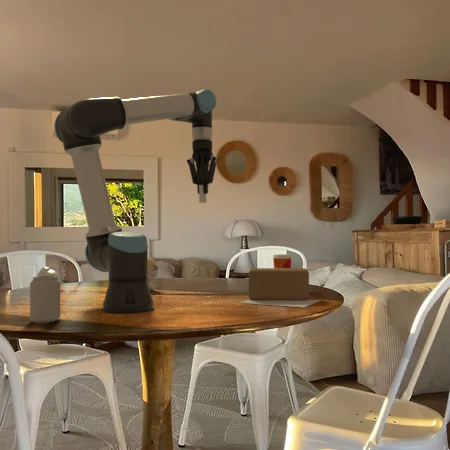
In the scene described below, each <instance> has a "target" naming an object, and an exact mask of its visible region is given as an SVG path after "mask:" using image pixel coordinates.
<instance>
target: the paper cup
mask: <svg viewBox="0 0 450 450" xmlns="http://www.w3.org/2000/svg"><path fill="white" fill-rule="evenodd" d="M272 256H273V257H272V259H273V260H272V261H273V268H291V267H292V258H293V257H292V254H289V253H288V254H287V253H286V254H284V253H283V254H282V253H281V254H278V253H277V254H273V255H272Z"/></svg>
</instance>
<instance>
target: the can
mask: <svg viewBox="0 0 450 450" xmlns="http://www.w3.org/2000/svg"><path fill="white" fill-rule="evenodd" d="M60 318H61V283H60V281H59V280H58V279H57V276H33V277H32V281H30V283H29V319H30V320H31V321H32V322H33V323H34V324H50V323H49V322H52V323H54V321H56V322H58V320H59V319H60Z"/></svg>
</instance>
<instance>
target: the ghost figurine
mask: <svg viewBox="0 0 450 450" xmlns="http://www.w3.org/2000/svg"><path fill="white" fill-rule="evenodd" d="M37 276H57V279H58V280H59V281H60V284H62V278H61V275H60V273H59V272H57V271H56V270H54V269H51V268H50V267H49V266H48V267H47V266H44V267H41V269H40V270H39V271H38V273H37ZM37 276H36V277H37Z"/></svg>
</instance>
